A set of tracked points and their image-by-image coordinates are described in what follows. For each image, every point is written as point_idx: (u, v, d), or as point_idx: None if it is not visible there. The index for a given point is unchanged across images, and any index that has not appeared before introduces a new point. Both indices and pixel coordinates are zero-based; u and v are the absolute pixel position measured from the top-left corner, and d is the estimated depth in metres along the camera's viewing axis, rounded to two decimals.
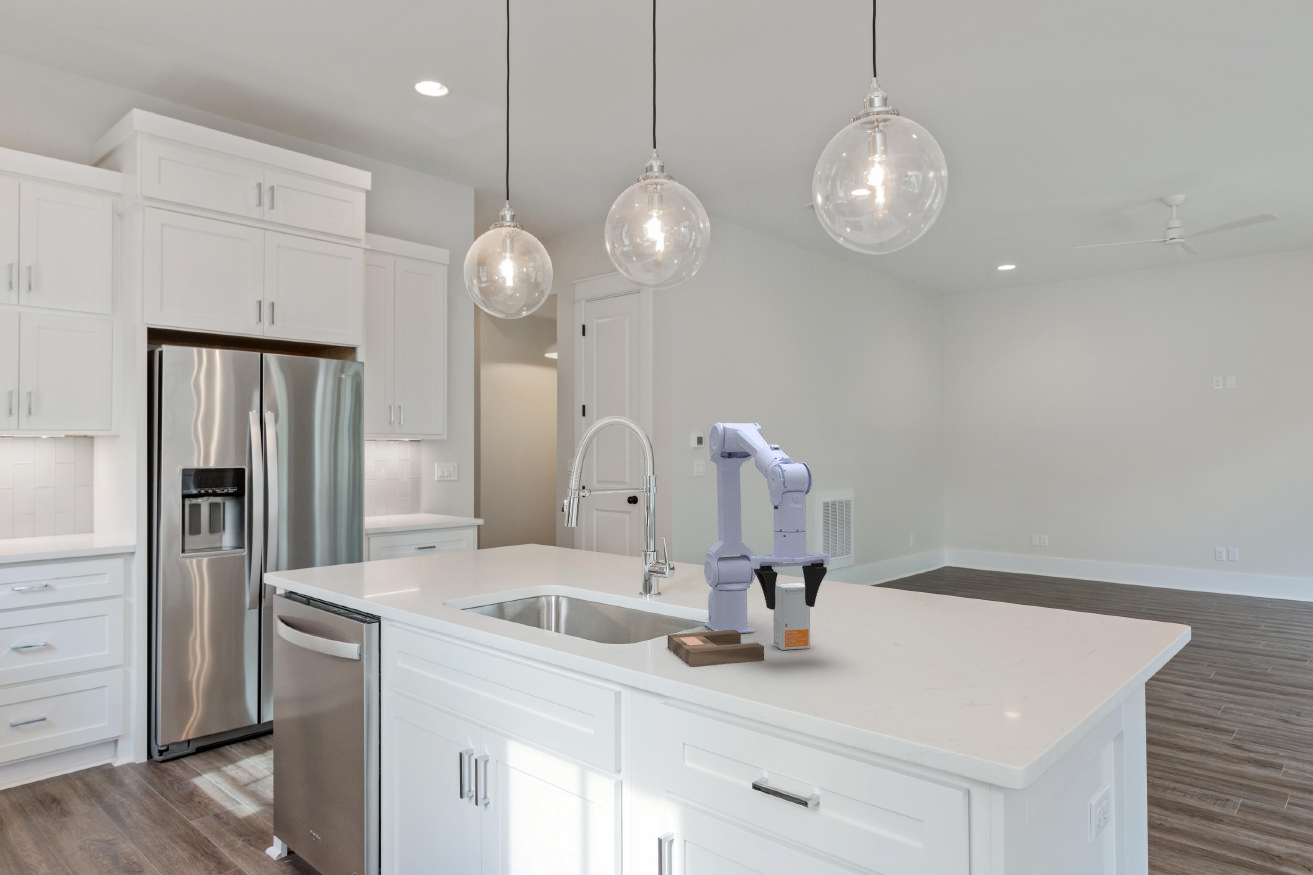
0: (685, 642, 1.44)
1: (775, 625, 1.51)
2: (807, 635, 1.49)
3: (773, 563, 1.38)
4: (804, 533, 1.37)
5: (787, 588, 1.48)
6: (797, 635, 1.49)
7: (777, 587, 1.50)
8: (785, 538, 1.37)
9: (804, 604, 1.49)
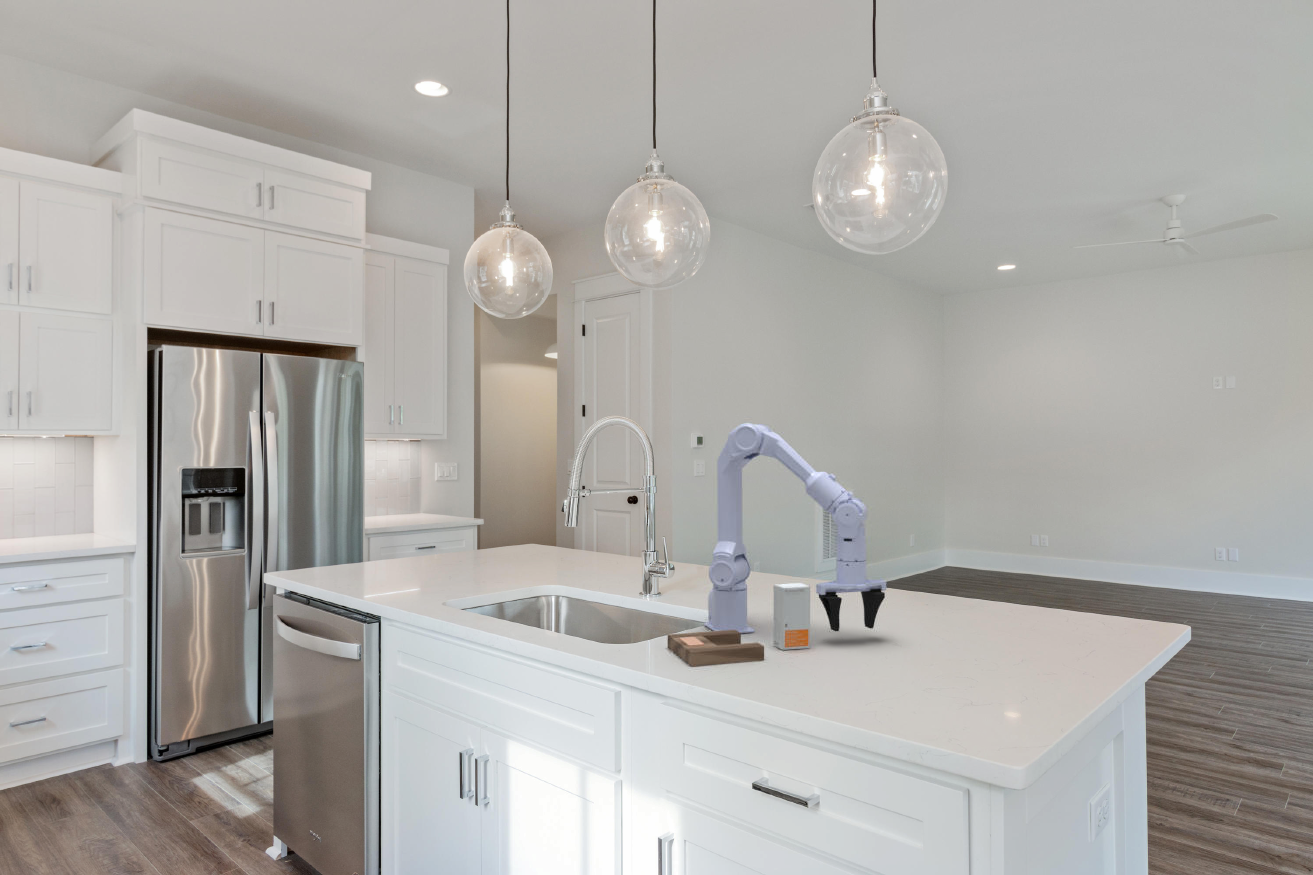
0: (685, 642, 1.44)
1: (775, 625, 1.51)
2: (807, 635, 1.49)
3: (837, 589, 1.53)
4: (864, 562, 1.53)
5: (787, 588, 1.48)
6: (797, 635, 1.49)
7: (777, 587, 1.50)
8: (848, 567, 1.52)
9: (804, 604, 1.49)
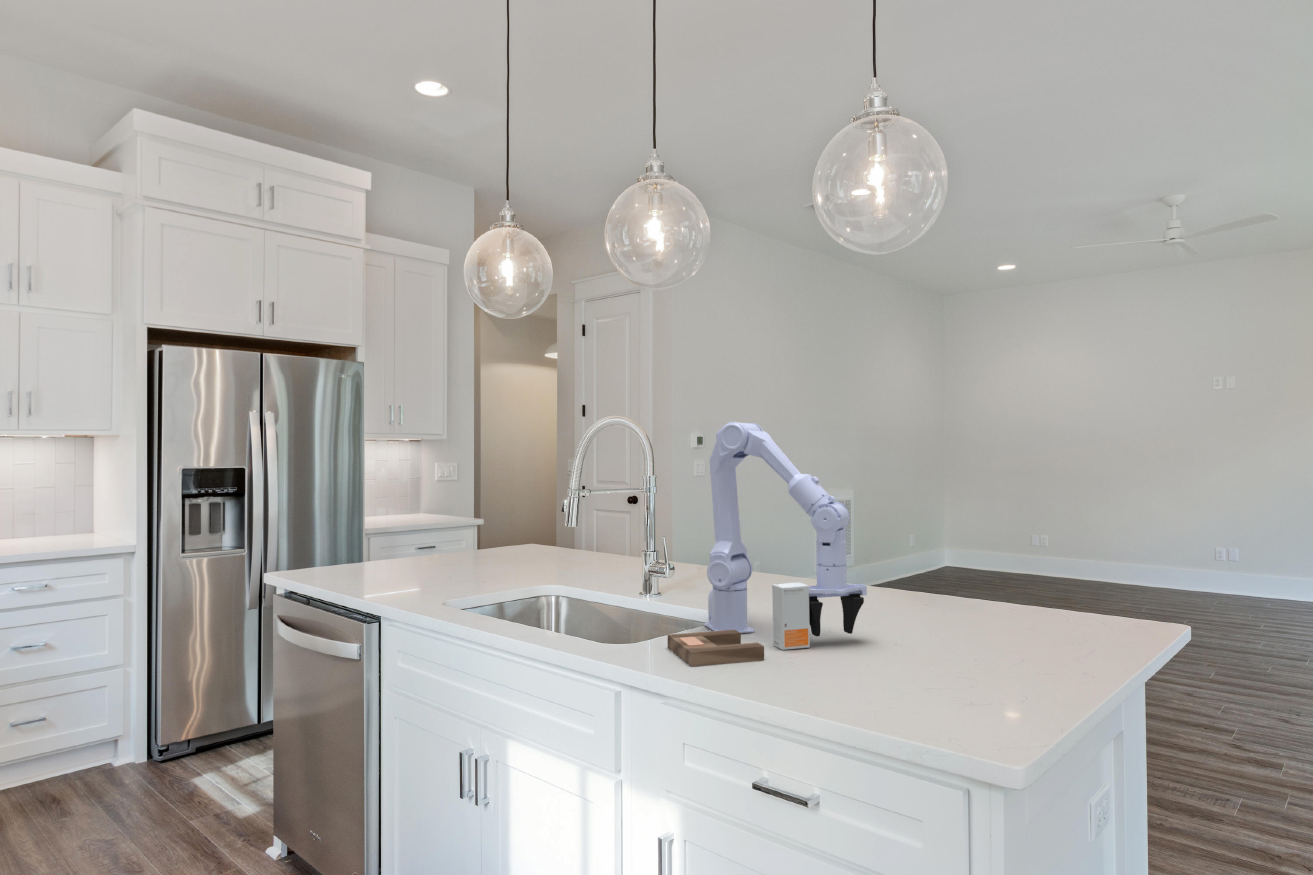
0: (685, 642, 1.44)
1: (775, 625, 1.51)
2: (807, 634, 1.49)
3: (816, 594, 1.52)
4: (845, 567, 1.52)
5: (786, 588, 1.48)
6: (797, 634, 1.49)
7: (776, 587, 1.50)
8: (828, 572, 1.51)
9: (803, 603, 1.49)
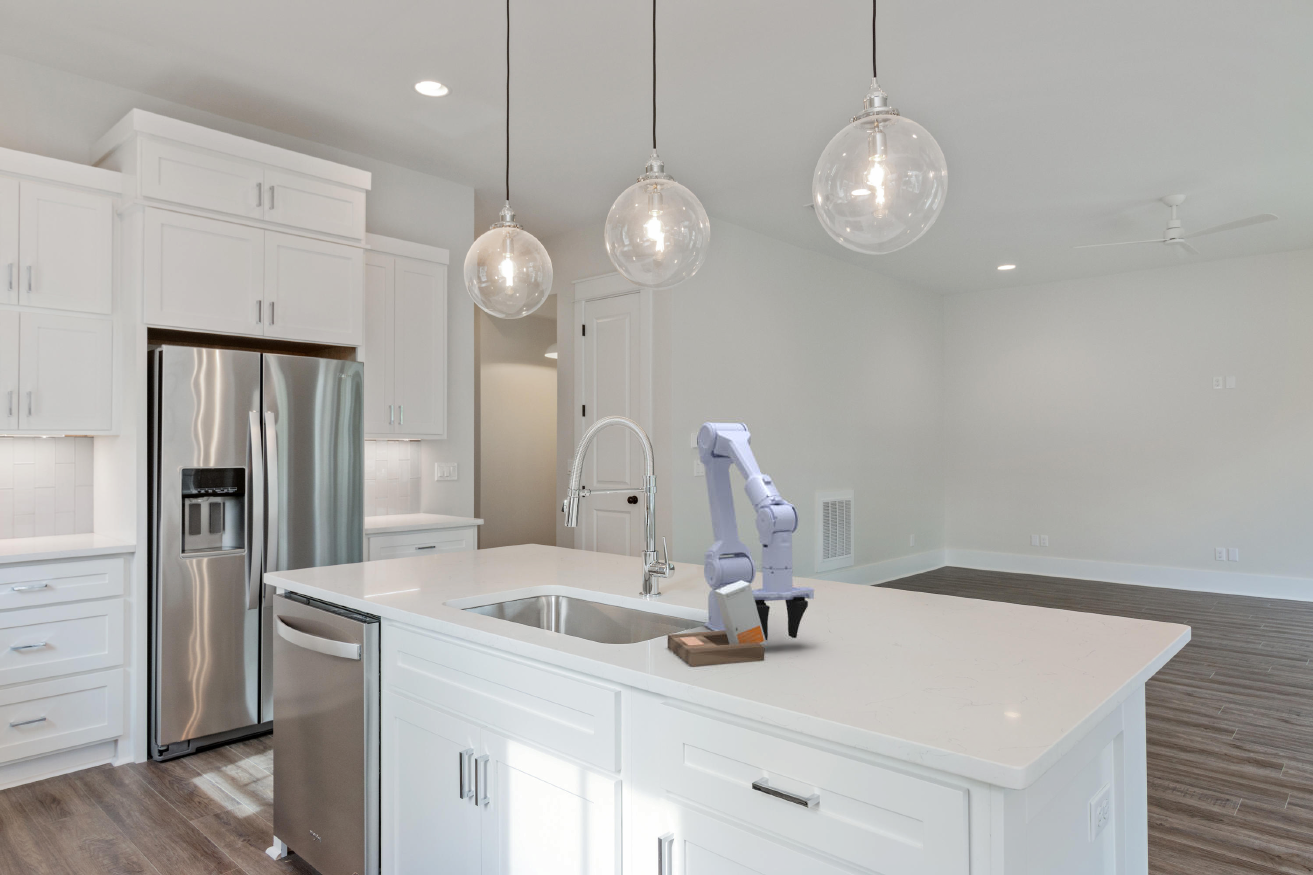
0: (685, 642, 1.44)
1: (727, 630, 1.48)
2: (760, 631, 1.46)
3: (762, 597, 1.49)
4: (790, 569, 1.48)
5: (727, 593, 1.45)
6: (750, 634, 1.46)
7: (718, 593, 1.46)
8: (773, 574, 1.47)
9: (749, 603, 1.46)
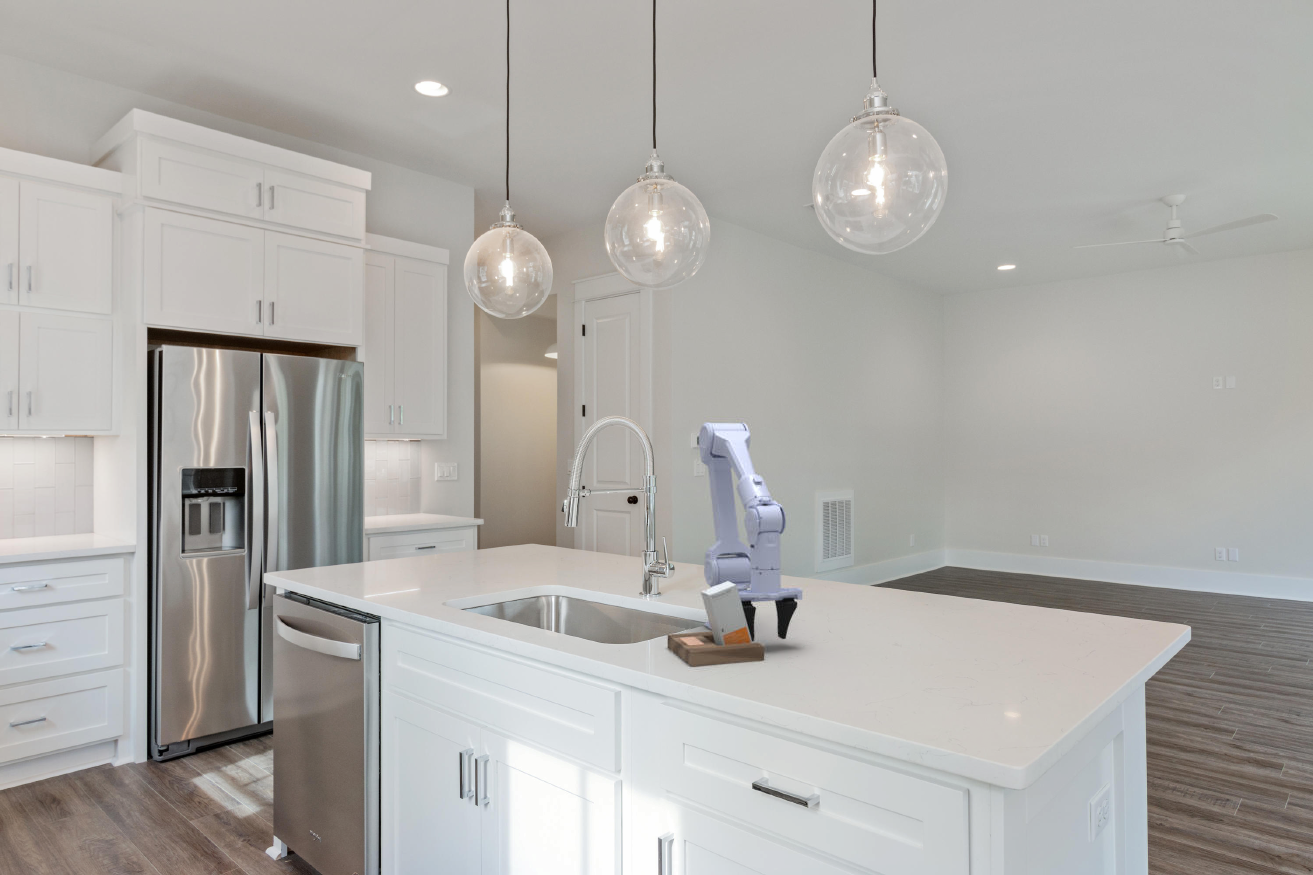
0: (685, 642, 1.44)
1: (713, 631, 1.47)
2: (746, 632, 1.46)
3: (750, 598, 1.48)
4: (778, 570, 1.48)
5: (713, 594, 1.44)
6: (736, 635, 1.45)
7: (704, 594, 1.46)
8: (761, 575, 1.47)
9: (735, 604, 1.45)
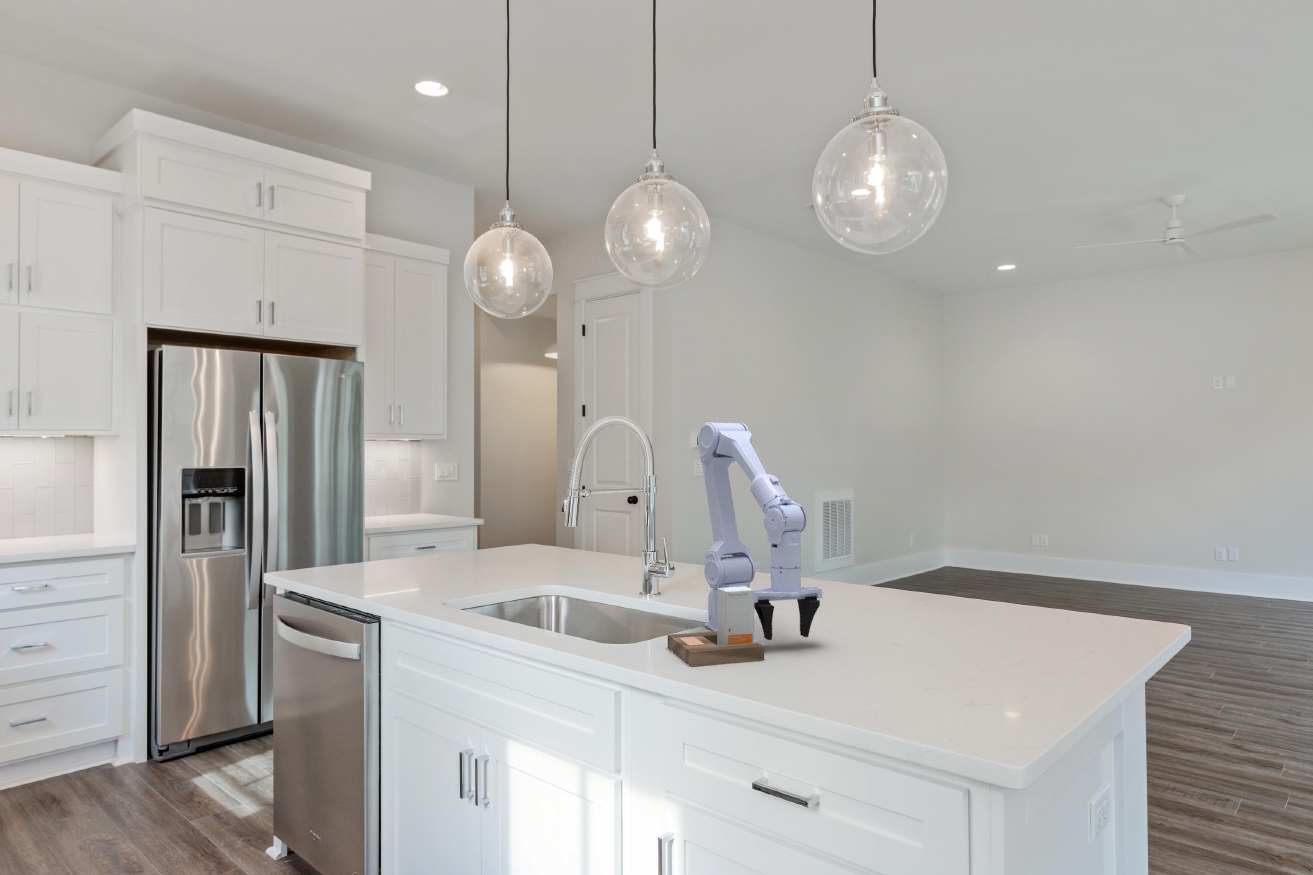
0: (685, 642, 1.44)
1: (719, 630, 1.47)
2: (751, 640, 1.46)
3: (770, 597, 1.49)
4: (799, 569, 1.49)
5: (730, 592, 1.45)
6: (741, 639, 1.45)
7: (721, 591, 1.47)
8: (781, 574, 1.48)
9: (748, 608, 1.46)
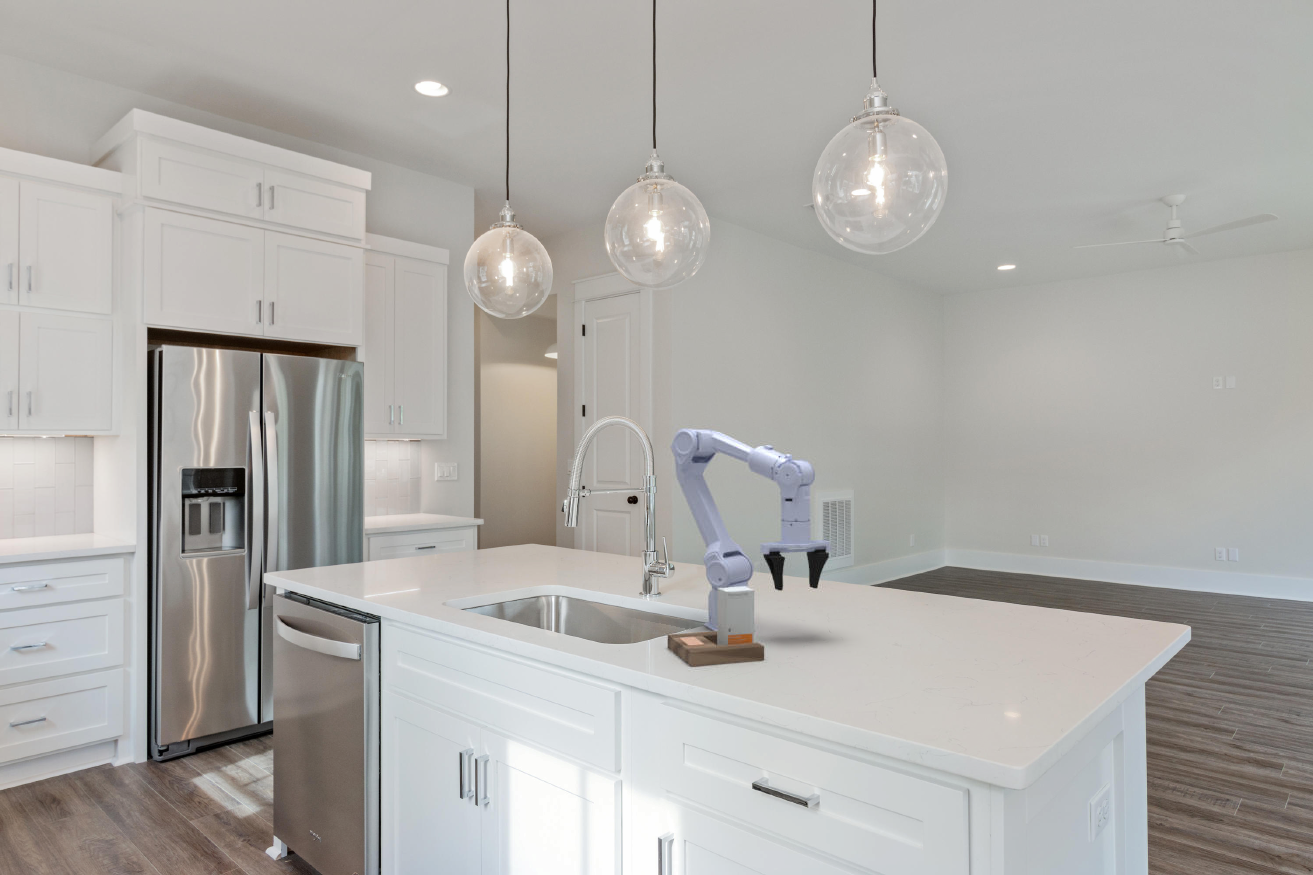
0: (685, 642, 1.44)
1: (719, 630, 1.47)
2: (751, 640, 1.46)
3: (781, 549, 1.54)
4: (808, 522, 1.54)
5: (730, 592, 1.45)
6: (741, 639, 1.45)
7: (721, 591, 1.47)
8: (791, 527, 1.53)
9: (748, 608, 1.46)
